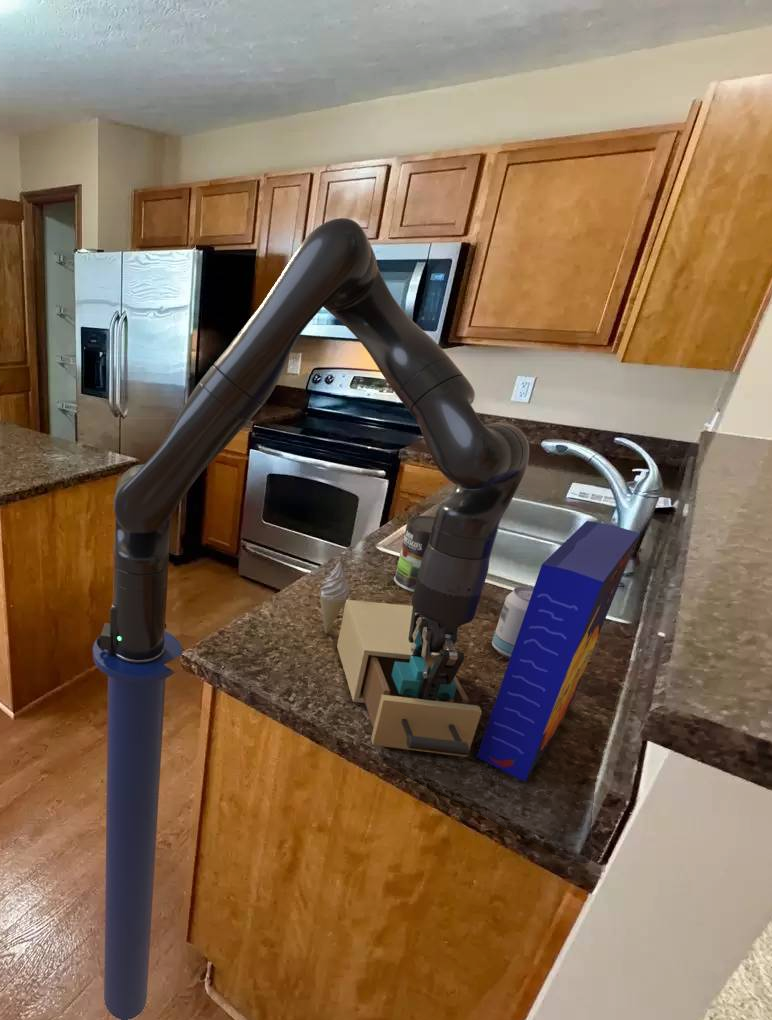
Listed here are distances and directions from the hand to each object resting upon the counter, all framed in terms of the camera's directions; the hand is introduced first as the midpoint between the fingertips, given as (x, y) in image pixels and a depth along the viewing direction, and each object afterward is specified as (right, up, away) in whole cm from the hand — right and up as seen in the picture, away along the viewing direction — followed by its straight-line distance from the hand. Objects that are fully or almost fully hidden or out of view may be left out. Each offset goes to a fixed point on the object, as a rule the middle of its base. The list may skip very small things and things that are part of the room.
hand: (420, 687), depth 83 cm
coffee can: (+23, +11, +47) cm, 53 cm away
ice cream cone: (-4, +3, +28) cm, 28 cm away
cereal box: (+17, -8, +4) cm, 19 cm away
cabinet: (+2, -2, +16) cm, 16 cm away
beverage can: (+27, 0, +23) cm, 36 cm away
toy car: (0, 0, 0) cm, 0 cm away
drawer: (0, -7, +3) cm, 7 cm away
